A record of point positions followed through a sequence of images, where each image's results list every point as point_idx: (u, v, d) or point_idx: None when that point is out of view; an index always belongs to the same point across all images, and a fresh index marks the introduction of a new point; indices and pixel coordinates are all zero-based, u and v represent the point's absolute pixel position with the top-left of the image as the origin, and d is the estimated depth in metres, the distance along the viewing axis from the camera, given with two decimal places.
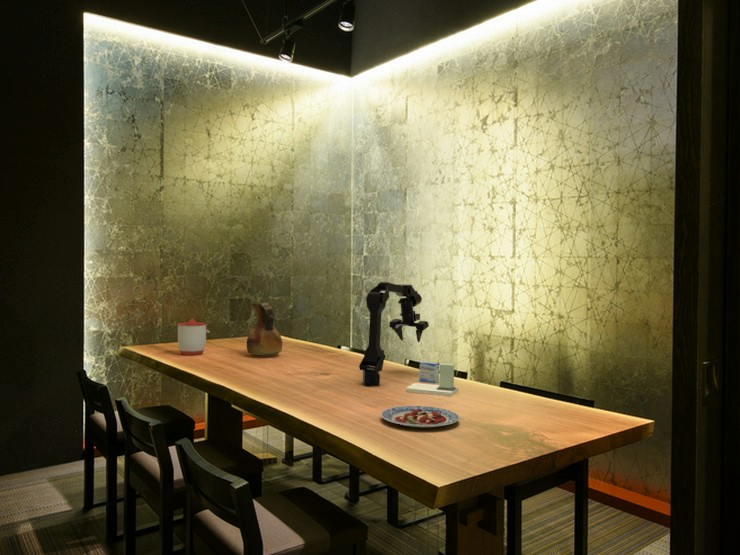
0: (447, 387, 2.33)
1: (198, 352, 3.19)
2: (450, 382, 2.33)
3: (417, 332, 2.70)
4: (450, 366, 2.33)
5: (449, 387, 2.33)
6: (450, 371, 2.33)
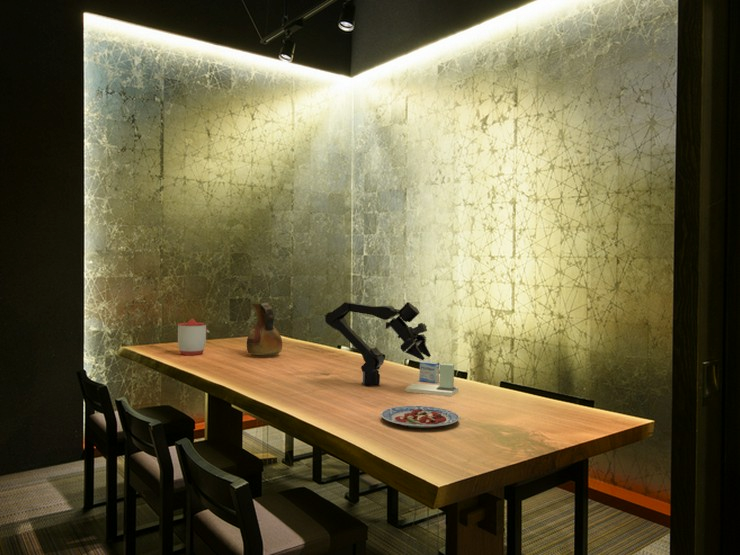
0: (447, 387, 2.33)
1: (198, 352, 3.19)
2: (450, 382, 2.33)
3: None
4: (450, 366, 2.33)
5: (449, 387, 2.33)
6: (450, 371, 2.33)
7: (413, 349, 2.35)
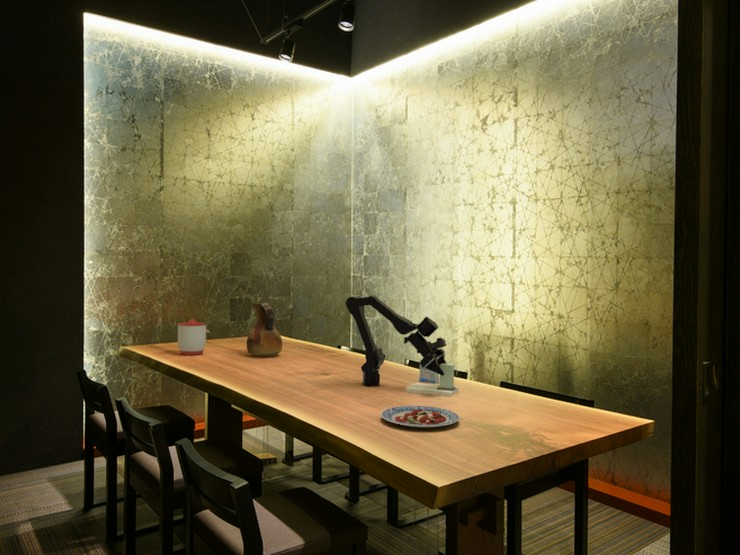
0: (447, 387, 2.33)
1: (198, 352, 3.19)
2: (450, 382, 2.33)
3: None
4: (450, 366, 2.33)
5: (449, 387, 2.33)
6: (450, 371, 2.33)
7: (433, 364, 2.31)
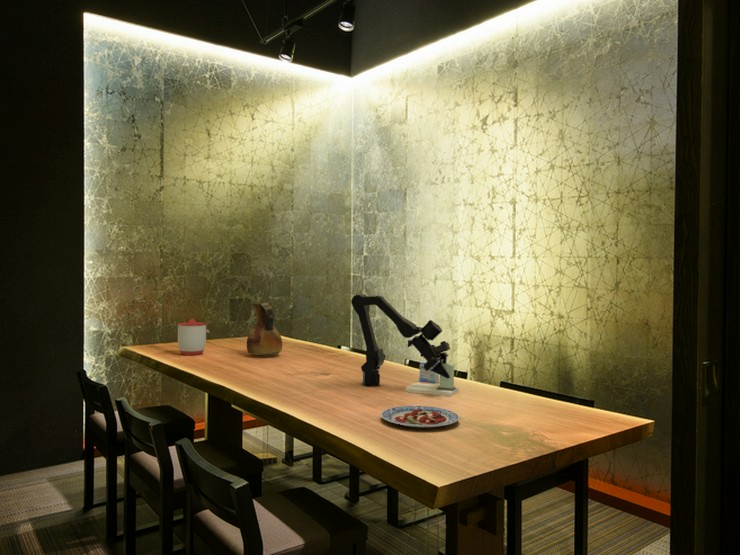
0: (447, 387, 2.33)
1: (198, 352, 3.19)
2: (450, 382, 2.33)
3: None
4: (450, 366, 2.33)
5: (449, 387, 2.33)
6: (450, 371, 2.33)
7: (438, 367, 2.33)
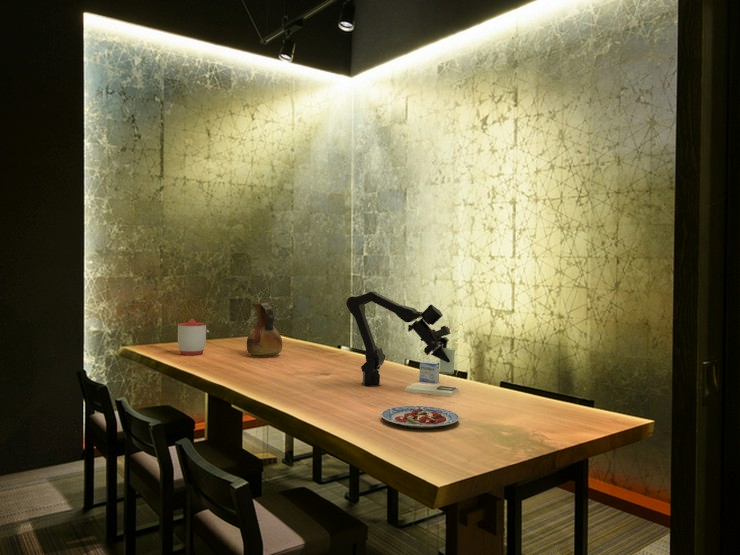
0: (447, 371, 2.33)
1: (198, 352, 3.19)
2: (450, 366, 2.33)
3: None
4: (450, 350, 2.33)
5: (449, 371, 2.33)
6: (450, 355, 2.33)
7: (438, 351, 2.33)
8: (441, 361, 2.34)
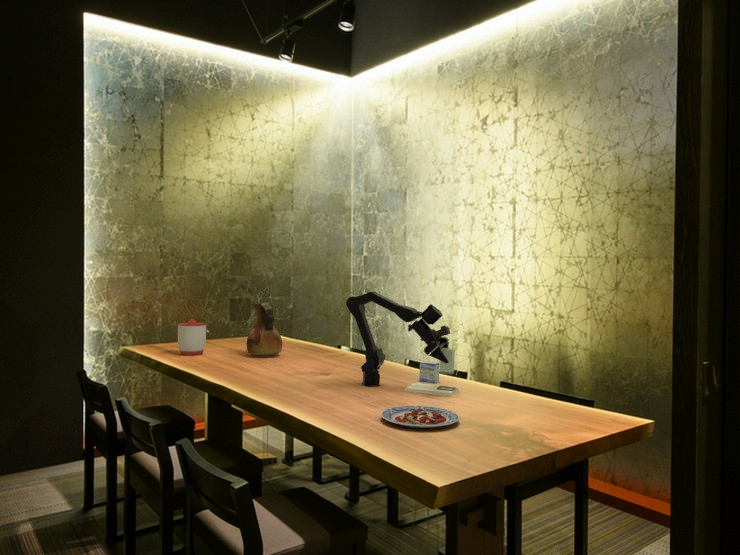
0: (447, 371, 2.33)
1: (198, 352, 3.19)
2: (450, 366, 2.33)
3: None
4: (450, 350, 2.33)
5: (449, 371, 2.33)
6: (450, 355, 2.33)
7: (437, 352, 2.31)
8: (441, 361, 2.34)
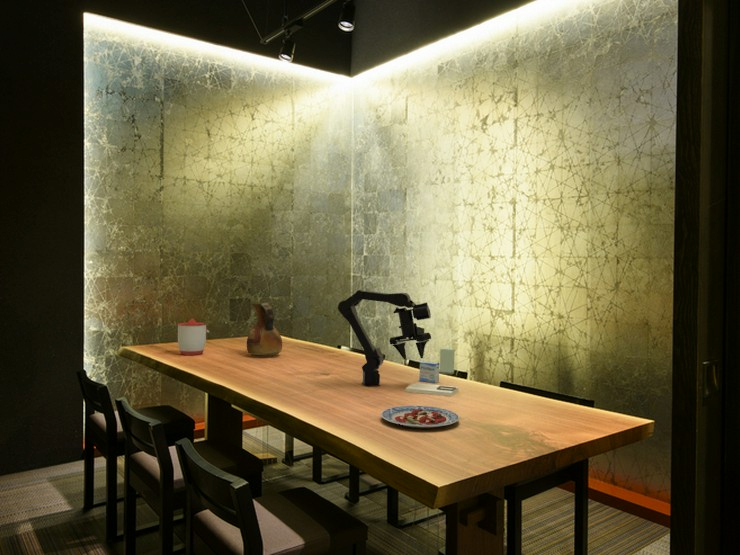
0: (447, 371, 2.33)
1: (198, 352, 3.19)
2: (450, 366, 2.33)
3: (417, 345, 2.37)
4: (450, 350, 2.33)
5: (449, 371, 2.33)
6: (450, 355, 2.33)
7: (421, 344, 2.39)
8: (441, 361, 2.34)
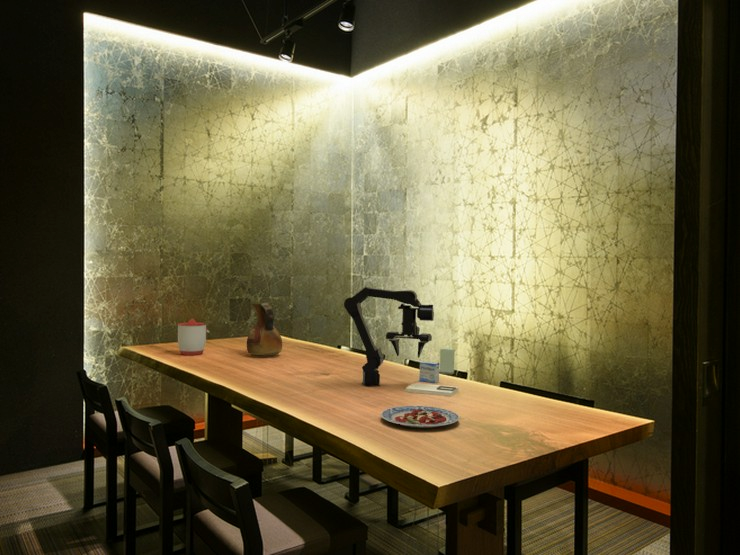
0: (447, 371, 2.33)
1: (198, 352, 3.19)
2: (450, 366, 2.33)
3: (420, 344, 2.39)
4: (450, 350, 2.33)
5: (449, 371, 2.33)
6: (450, 355, 2.33)
7: None
8: (441, 361, 2.34)
